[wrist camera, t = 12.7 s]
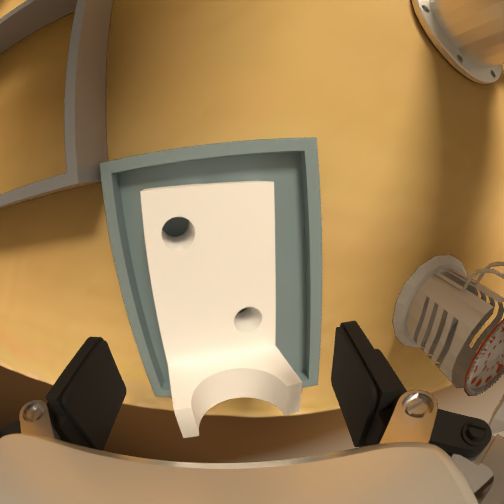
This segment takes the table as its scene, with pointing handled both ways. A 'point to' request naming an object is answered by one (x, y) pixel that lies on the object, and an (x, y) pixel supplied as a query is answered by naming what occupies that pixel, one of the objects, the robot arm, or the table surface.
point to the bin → (70, 88)
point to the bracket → (217, 296)
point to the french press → (454, 325)
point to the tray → (184, 173)
